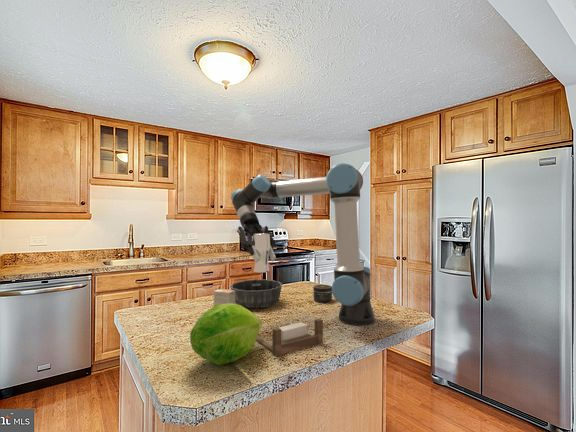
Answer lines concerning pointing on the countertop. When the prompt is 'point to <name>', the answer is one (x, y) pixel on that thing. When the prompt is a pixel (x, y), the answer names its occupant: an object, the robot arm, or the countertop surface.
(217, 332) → the lettuce
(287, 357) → the countertop surface
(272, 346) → the rack
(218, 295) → the supplement box
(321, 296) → the jar
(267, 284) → the bundt pan
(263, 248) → the beer glass
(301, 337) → the offcut lower
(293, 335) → the offcut upper
